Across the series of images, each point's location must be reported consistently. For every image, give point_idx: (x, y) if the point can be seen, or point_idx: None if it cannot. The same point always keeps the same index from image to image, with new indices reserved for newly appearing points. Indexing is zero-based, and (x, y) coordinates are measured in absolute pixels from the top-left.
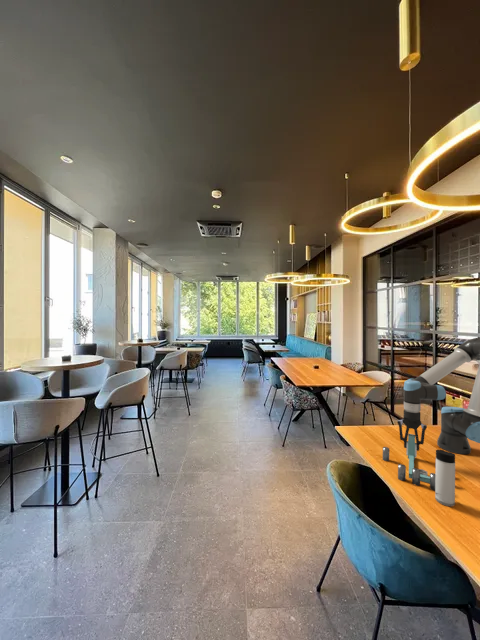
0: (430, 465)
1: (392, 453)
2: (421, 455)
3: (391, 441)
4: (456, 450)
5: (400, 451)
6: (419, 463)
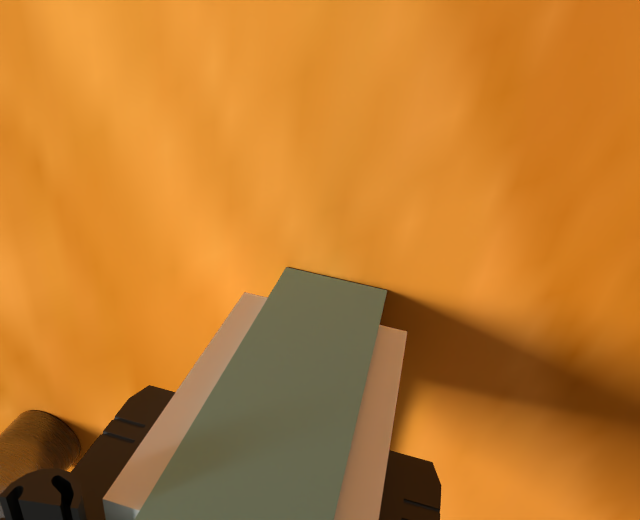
0: (566, 466)
1: (71, 245)
2: (563, 132)
3: None
4: None
5: (169, 103)
6: (415, 442)
